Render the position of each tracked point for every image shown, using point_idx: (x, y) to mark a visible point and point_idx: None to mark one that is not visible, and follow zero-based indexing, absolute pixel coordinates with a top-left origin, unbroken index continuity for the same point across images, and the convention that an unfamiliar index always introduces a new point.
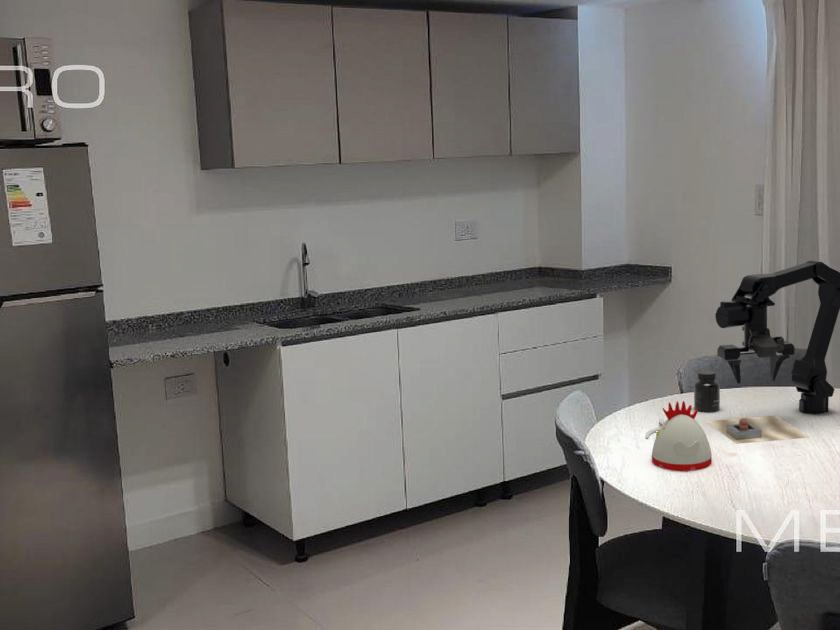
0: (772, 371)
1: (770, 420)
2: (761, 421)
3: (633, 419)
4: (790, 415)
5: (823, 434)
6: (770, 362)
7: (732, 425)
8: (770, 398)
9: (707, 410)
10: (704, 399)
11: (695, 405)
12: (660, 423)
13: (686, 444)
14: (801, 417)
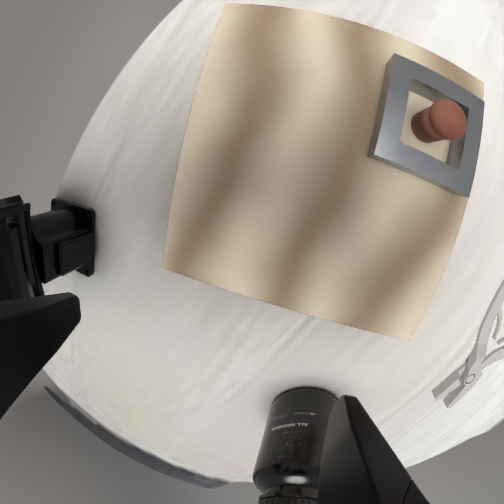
0: (30, 342)
1: (210, 224)
2: (249, 232)
3: (452, 429)
4: (111, 277)
5: (140, 72)
6: (4, 407)
7: (457, 173)
8: (106, 388)
9: (330, 407)
10: None
11: None
12: (477, 378)
13: None
14: (97, 245)
